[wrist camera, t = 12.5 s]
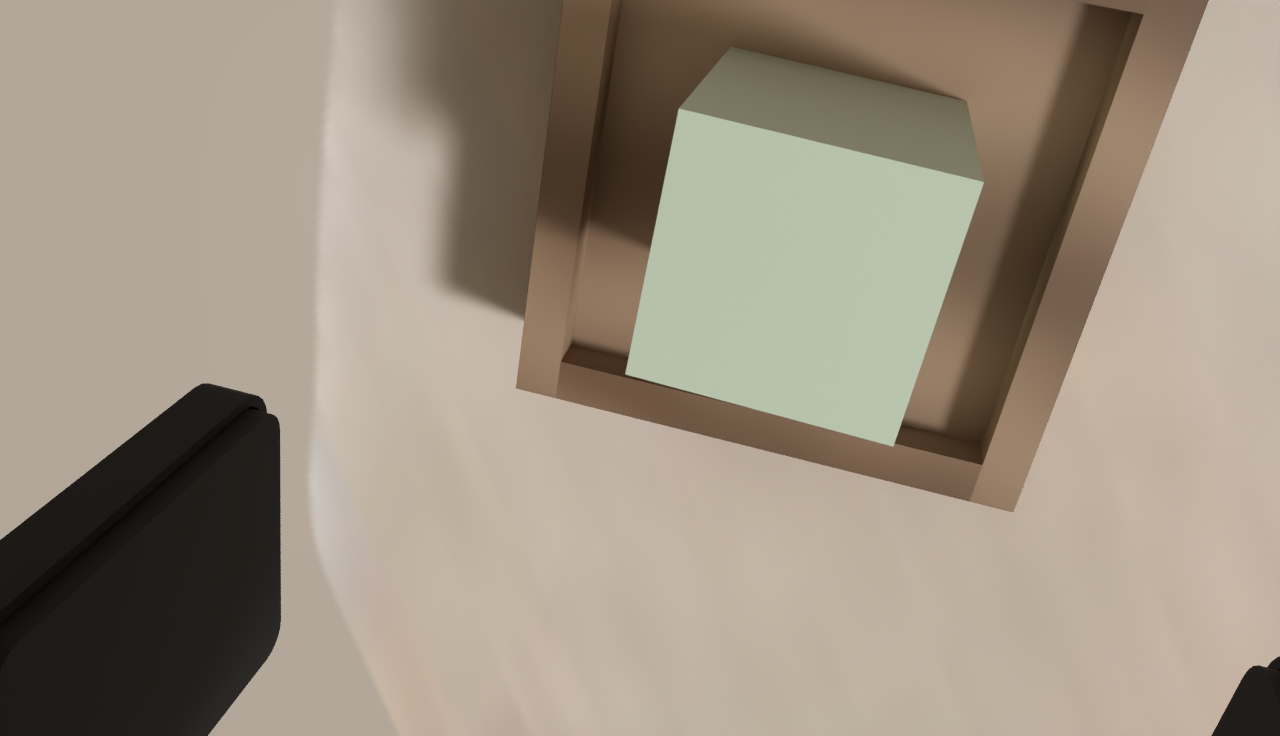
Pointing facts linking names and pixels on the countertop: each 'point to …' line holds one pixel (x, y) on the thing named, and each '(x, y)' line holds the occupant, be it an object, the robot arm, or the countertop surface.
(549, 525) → the countertop surface
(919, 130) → the sage block
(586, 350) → the base block
